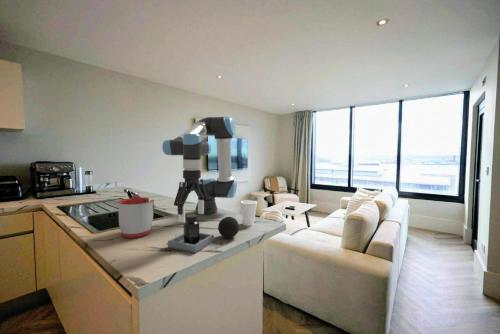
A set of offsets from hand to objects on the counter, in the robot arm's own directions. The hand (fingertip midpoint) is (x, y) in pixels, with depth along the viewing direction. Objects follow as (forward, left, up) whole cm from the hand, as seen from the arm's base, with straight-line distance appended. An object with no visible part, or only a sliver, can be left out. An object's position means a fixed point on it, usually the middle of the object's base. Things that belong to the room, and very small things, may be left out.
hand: (191, 217), depth 96 cm
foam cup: (-37, +12, -12) cm, 41 cm away
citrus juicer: (0, -32, -12) cm, 34 cm away
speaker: (-14, +11, -12) cm, 22 cm away
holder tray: (0, 0, -12) cm, 12 cm away
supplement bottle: (0, 0, -11) cm, 11 cm away
